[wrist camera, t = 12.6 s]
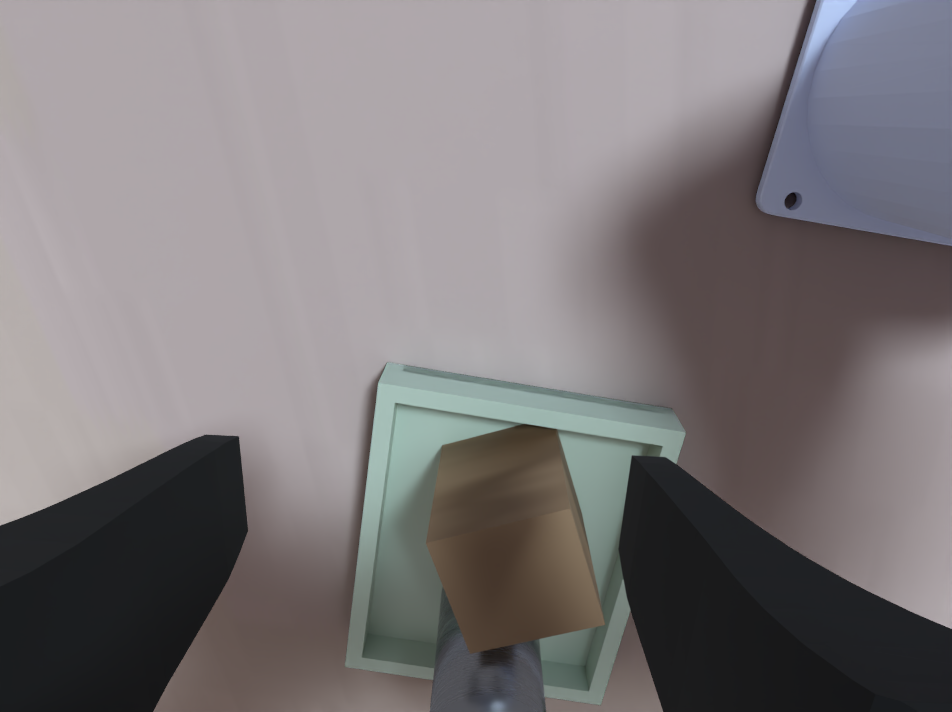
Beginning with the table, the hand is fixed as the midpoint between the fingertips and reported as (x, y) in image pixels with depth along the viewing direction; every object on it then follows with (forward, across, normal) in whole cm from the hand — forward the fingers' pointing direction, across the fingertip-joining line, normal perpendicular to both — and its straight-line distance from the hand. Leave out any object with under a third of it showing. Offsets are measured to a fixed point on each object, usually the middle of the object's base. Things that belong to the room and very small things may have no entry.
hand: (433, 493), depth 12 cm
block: (+10, -2, +6) cm, 11 cm away
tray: (+10, -2, +8) cm, 13 cm away
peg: (+10, -2, +11) cm, 15 cm away
